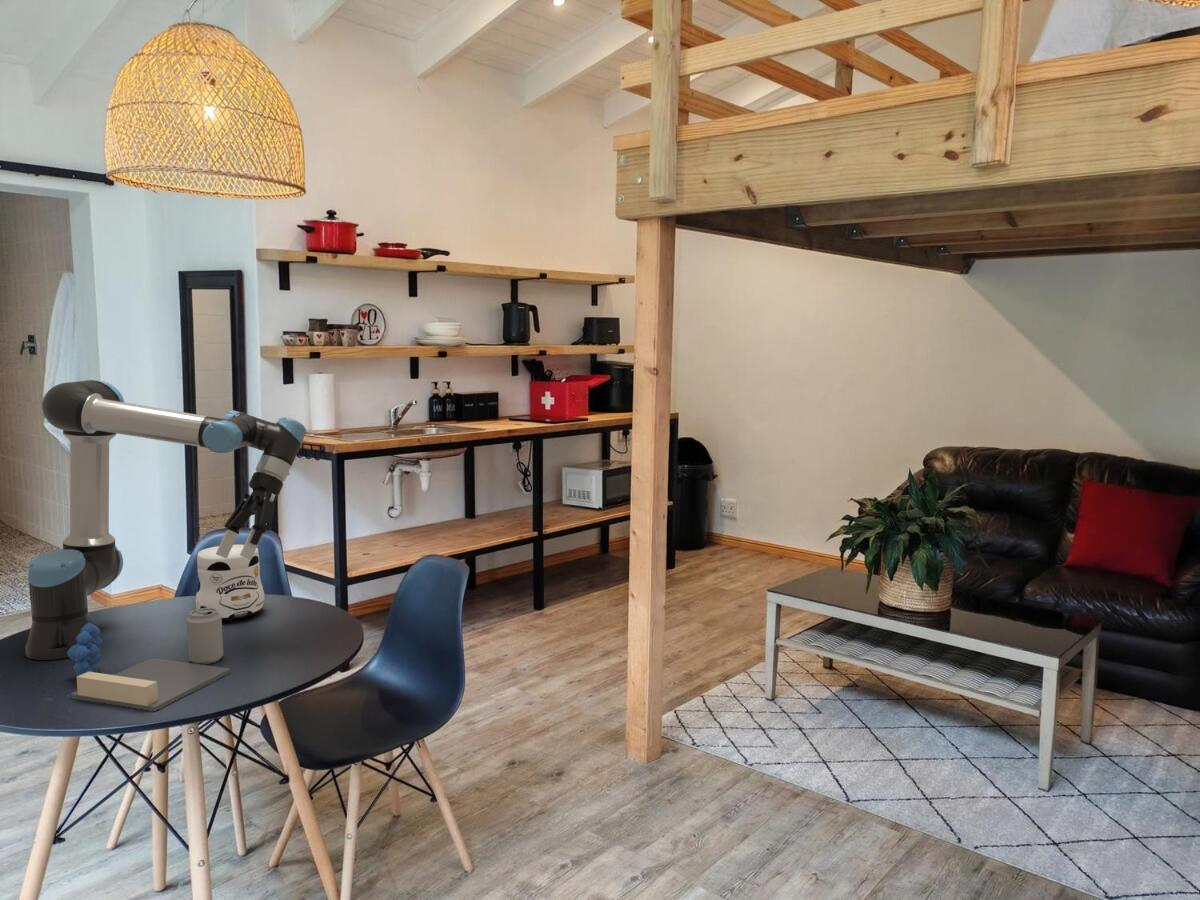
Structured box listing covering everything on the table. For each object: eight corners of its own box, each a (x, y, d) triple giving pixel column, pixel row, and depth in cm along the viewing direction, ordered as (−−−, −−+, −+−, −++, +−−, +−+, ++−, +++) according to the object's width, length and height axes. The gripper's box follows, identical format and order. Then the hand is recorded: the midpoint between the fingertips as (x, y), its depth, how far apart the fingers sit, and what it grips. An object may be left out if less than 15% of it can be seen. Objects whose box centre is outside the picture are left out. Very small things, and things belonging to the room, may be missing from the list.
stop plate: (70, 698, 185) (69, 675, 184) (152, 662, 206) (151, 641, 205) (154, 711, 179) (153, 688, 178) (230, 672, 199) (229, 651, 199)
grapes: (78, 668, 202) (74, 618, 200) (110, 666, 203) (107, 616, 202) (58, 688, 190) (54, 634, 189) (92, 686, 192) (88, 633, 190)
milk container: (240, 627, 231) (237, 560, 229) (182, 622, 235) (178, 556, 232) (277, 607, 248) (274, 545, 246) (222, 603, 251) (219, 542, 249)
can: (215, 666, 204) (212, 615, 202) (182, 665, 204) (180, 615, 202) (229, 654, 211) (226, 606, 210) (198, 654, 211) (195, 605, 210)
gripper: (306, 481, 213) (270, 563, 205) (260, 485, 230) (225, 561, 222) (279, 467, 208) (241, 551, 200) (234, 472, 225) (197, 550, 217)
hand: (233, 556), depth 211 cm, fingers open, 13 cm apart
